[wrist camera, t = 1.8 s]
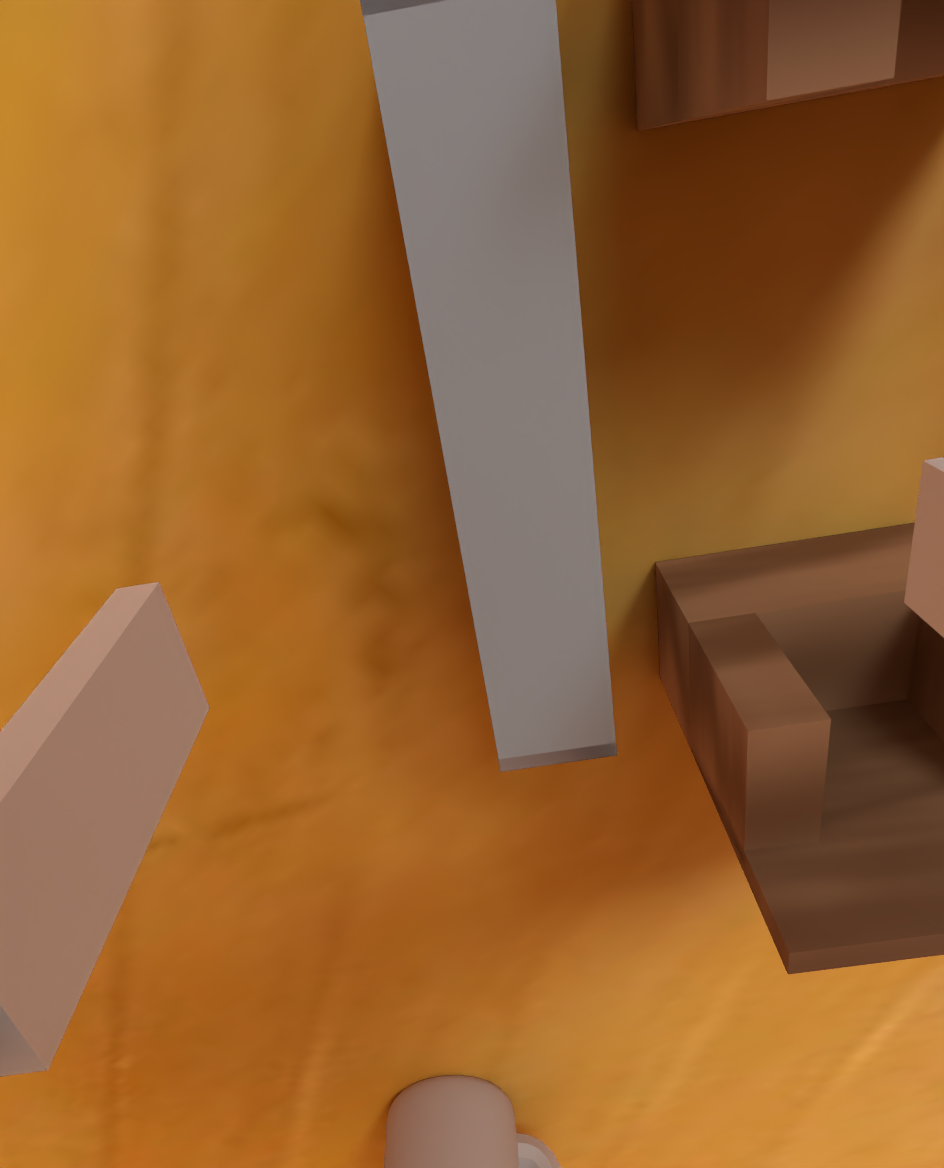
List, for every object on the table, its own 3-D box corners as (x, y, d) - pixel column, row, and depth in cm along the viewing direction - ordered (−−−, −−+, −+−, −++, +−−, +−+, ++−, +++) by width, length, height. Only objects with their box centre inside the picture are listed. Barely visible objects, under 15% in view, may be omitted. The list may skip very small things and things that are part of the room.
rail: (380, 36, 19) (356, -18, 13) (520, 10, 18) (552, -56, 13) (489, 658, 28) (500, 771, 22) (583, 644, 28) (617, 755, 22)
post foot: (655, 562, 26) (799, 825, 15) (917, 522, 26) (1248, 764, 15) (660, 677, 28) (788, 974, 18) (900, 643, 28) (1175, 924, 17)
